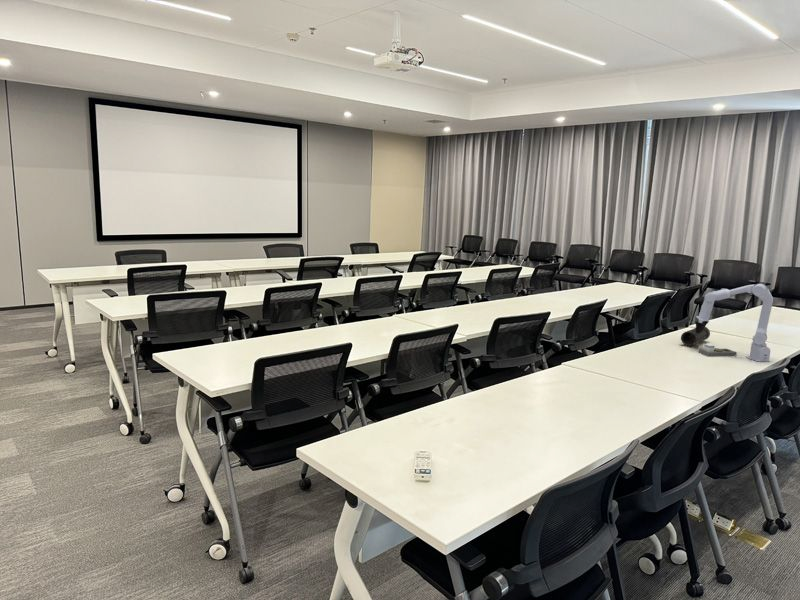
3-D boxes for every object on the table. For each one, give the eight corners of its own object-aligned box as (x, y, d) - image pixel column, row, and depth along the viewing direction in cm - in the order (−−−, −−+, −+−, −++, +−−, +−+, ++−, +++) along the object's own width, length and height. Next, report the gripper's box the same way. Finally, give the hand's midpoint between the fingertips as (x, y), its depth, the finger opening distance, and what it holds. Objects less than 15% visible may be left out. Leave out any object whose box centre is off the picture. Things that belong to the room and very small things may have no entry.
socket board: (736, 356, 320) (736, 350, 319) (708, 356, 316) (708, 351, 316) (725, 352, 327) (726, 347, 327) (698, 352, 324) (699, 347, 323)
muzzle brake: (679, 345, 341) (681, 329, 339) (694, 339, 360) (696, 324, 358) (695, 348, 334) (697, 332, 332) (710, 342, 353) (712, 326, 351)
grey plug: (713, 355, 319) (714, 345, 318) (707, 355, 319) (709, 345, 317) (708, 353, 323) (710, 344, 322) (703, 353, 322) (704, 344, 321)
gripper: (701, 307, 336) (694, 328, 340) (696, 310, 325) (689, 331, 329) (713, 311, 332) (706, 331, 336) (708, 314, 321) (701, 335, 325)
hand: (698, 332), depth 332 cm, fingers open, 7 cm apart
